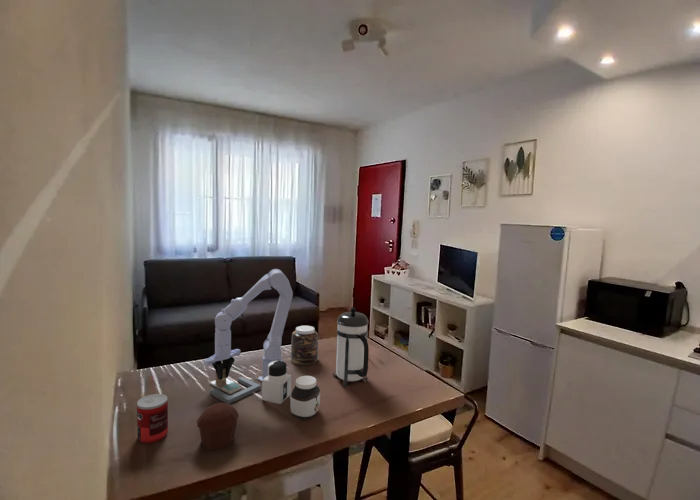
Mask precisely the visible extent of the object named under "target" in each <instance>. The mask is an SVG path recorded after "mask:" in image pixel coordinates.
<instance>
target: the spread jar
mask: <svg viewBox="0 0 700 500" xmlns="http://www.w3.org/2000/svg"><path fill="white" fill-rule="evenodd" d="M289 399H290V404H289V405H290V413H291V414H292V415H293V416H294V417H296V418H297V419H301V420H309V419H312V418H314V417H315V416H316V415H317V413H318V411H319V408H320V404H321V389H320V387H319V386H318V384H317V378H315V376H311V375H303V376H302V375H301V376H299V377H297V378H296V379H295V386H294V387H293V389H292V390H291V395H290V396H289Z"/></svg>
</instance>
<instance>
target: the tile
mask: <svg viewBox="0 0 700 500" xmlns="http://www.w3.org/2000/svg"><path fill="white" fill-rule="evenodd" d="M234 382H235V381H233V382H232V383H230V384H227V385H225V386H223V387H222V390H221V391H222V392H224V393H226V394H227V395H233V394H235V393H237V392H239V391H242V386H241V385H239V384H238V383H234Z"/></svg>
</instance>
